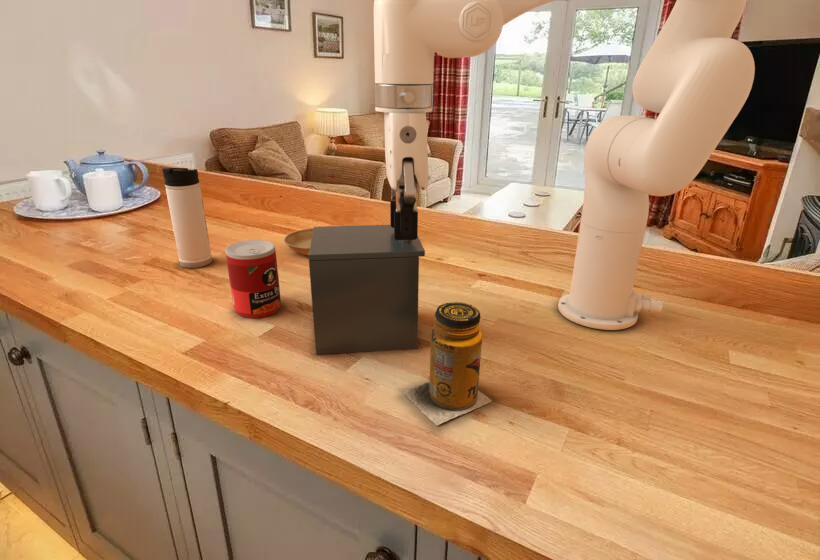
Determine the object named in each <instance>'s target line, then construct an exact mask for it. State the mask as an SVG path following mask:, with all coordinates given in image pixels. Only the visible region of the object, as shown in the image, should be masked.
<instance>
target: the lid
mask: <svg viewBox="0 0 820 560" xmlns="http://www.w3.org/2000/svg"><path fill="white" fill-rule="evenodd" d="M307 256H308V261H309V260H336V259H364V258H392V257H419V258H420V257H426V250H425V248H424V246H423V244H422V242H421V240H420V238H419V236H418V237H417V239H416V240H395V238H394V228H392V227H391V224H367V225H366V224H365V225H362V224H361V225H331V226H329V225H328V226H313V233H312V239H311V244H310V250H309V255H307Z"/></svg>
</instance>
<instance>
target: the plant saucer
mask: <svg viewBox="0 0 820 560" xmlns="http://www.w3.org/2000/svg"><path fill="white" fill-rule="evenodd" d="M313 228H314V227H313ZM313 228H305V229H299V230H295V231H293V232H291V233H289V234H287V235H285V236H284V238H283V242H284V243H285V245H287V246H288V247H289V248H290V249H291V250H292V251H294V252H295V253H296V254H300V255H302V256H308V255H309V250H310V244H311V239H312V233H313Z"/></svg>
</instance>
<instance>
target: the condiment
mask: <svg viewBox="0 0 820 560" xmlns="http://www.w3.org/2000/svg"><path fill="white" fill-rule="evenodd" d="M481 317H482V316H481V312H480V310H479V309H478V308H477V307H476V306H475V305H472V304H469V303H466V302H457V301H453V302H445V303H442V304H441V305H439V306H438V307H437V308H436V310H435V312H434V318H435V319H434V323H433V325H434V327H432V329H431V333H430V351H429V352H430V353H429V355H430V356H429V381H428V382H425V383H423V384H421V385H418V386H416V387H412V388H408V389H407V390H404V391H402V393H403V395H405V397H406V398H407V399H408V401H410V402H411V403H412V404H413V405H414V406H415V407H416V409H418V410H419V411H420V412H421V413H422V414H423V415H425V417H427V418H428V420H430V421H431V422H432V423H433V424H434V425H435V426H440V425H441V424H443V423H446V422H448V421H450V420H453V419H456V418H457V417H459V416H463V415H464V414H467V413H469V412H472V411H473V410H476V409H479V408H481V407H483V406H485V405H488V404H489V403H492V402H493V399H491V398H490V397H488V396H487V395H485V393H483V392H481V391H480V390H479V382H480V368H481V356H482V346H483V333H482V330H481V324H480V323H481Z"/></svg>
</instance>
